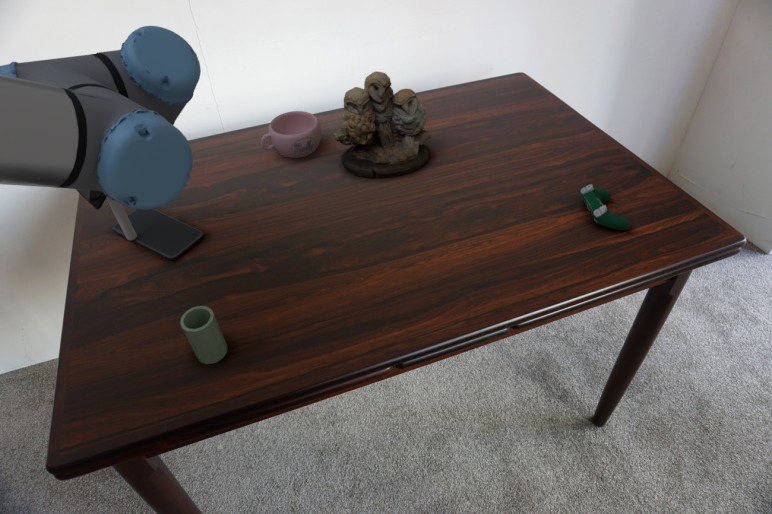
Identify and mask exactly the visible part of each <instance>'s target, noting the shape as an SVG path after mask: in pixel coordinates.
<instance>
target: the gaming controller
mask: <svg viewBox="0 0 772 514" xmlns="http://www.w3.org/2000/svg"><path fill="white" fill-rule="evenodd" d="M579 194H580V197H581V199H582V200H583V202H584V203H585V205H586V206H587V207H586V208H587V210H588V211H589V212H590V214H591V215H592V217H593V220H594V221H595V223H596V224H598V225H599V226H602V227H604V228H608V229H611V230H616V231H629V230H630V226H631V223H630V221H629V220H628V219H626V218H625V217H623V216H621V215H618V214H616V213H615V212H612V211H610V210H609V208H608V207H607V205H606V204H604V203H606V202H608V201H609V200H610V199H611V196H612V195H611V193H610V191H608V190H607V189H606V188H599V187H594V185H593V184H592V183H590V184H588V185H585V186H584V187H582V188H581V189H580V190H579Z"/></svg>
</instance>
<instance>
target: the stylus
mask: <svg viewBox="0 0 772 514" xmlns="http://www.w3.org/2000/svg"><path fill="white" fill-rule="evenodd" d="M105 201H107V203H108V205H109V208H110V209H111V211H112V214H113V215H114V217H115V219H116V221H117V222H118V223H119V225H120V226H121V228H122V230H123V232H124V234H125V236H126V238H125V239H126V240H128V241H131V240H134V239H135V238H136V237H137V234H136V232H135V230H134V228H133V226H132V224H131V222H130V220H129V218H128V216H127V215H128V214H127V212H126V209H125V208H124V206H123V204H122V203H120V202H117V201H114V200H112V199H110V198H108V197H106V199H105Z"/></svg>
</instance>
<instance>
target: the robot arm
mask: <svg viewBox="0 0 772 514" xmlns="http://www.w3.org/2000/svg"><path fill="white" fill-rule="evenodd" d="M200 77H201V63H200V60H199V57H198V54H197V53H196V52H195V50H194V49H193V47H192V46H191V44H190V43H189V42H188V41H187V40H186V39H184V38H183V37H182V36H181V35H179V33H177V32H174V30H171V29H168V28H165V27H162V26H157V25H145V26H144V25H143V26H141V27H138V28H137V29H135V30H133V31H131V33H130V34H129V35H128V36H127V38H126V39H125V40H124V41H123V42H122V43H121V47H120V49H116V50H108V51H100V52H96V53H90V54H84V55H74V56H66V57H57V58H49V59H41V60H40V59H39V60H32V61H23V62H18V61H11V62H10V63H8V64H2V65H0V185H2V186H3V185H4V186H5V185H7V186H21V187H37V188H39V187H40V188H54V189H55V188H56V189H57V188H58V189H68V190H69V189H70V190H76V191H77V192H78V193H79V194H80V195H81V196H82V197H83V199H85V200H86V201H87V202H88V203H89V204H90V205H91V206H92V208H94V209H95V210H96V211H98V210H100V209H101V208H102V207H103V205H104V203H105V201H106V197H108V198H110V199H112V200H114V201H117V202H120V203H121V204H122V205H124V206H126V207H129V208H131V209H133V210H136V209H141V210H148V209H158V208H161V207H163V206H165V205H167V204H169V203H171V202H172V201H174V200H175V199H176V198H177V197H178V196H179V195H180V194H181V193H182V192H183V191H184V189H185V188H186V186H187V184H188V183H189V180H190V177H191V174H192V169H193V166H194V165H193V163H194V158H193V156H194V155H193V151H192V148H191V145H190V143H189V140H188V139H187V137H186V136H185V134H183V132H182V131H181V130H180V129H179V128H177V127H176V126H175V123H176V121H177V119H178V118H179V116H180V114H181V113H182V112H183V110H184V109H185V107H186V105H187V104H189V102H190V101H191V100H192V99H193V97H194V92H195V90H196V88H197V86H198V83H199V81H200Z"/></svg>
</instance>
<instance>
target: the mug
mask: <svg viewBox="0 0 772 514" xmlns="http://www.w3.org/2000/svg"><path fill="white" fill-rule="evenodd" d="M268 138H269V140H270V142H271V144H270V145H269V146H268V145H266V143H265V141H266V140H267V139H268ZM321 138H322V126H321V123H320V120H319V119H318V117H317V116H316V115H314V114H313V113H311V112H308V111H303V110H293V111H287V112H284V113H281V114H278V115H277V116H275V117H274V118H272V120H271V121H270V123H269V124H268V133H265V134H263V135H262V137H261V139H260V146H261V148H262V149H263V150H264V151H271V150H273V149H275V150H276V151H277V152H278V153H279V154H280V155H281V156H283V157H286V158H290V159H299V158H303V157H307V156H309V155H312V153H314V152H315V151H316V150H317V149H318V147H319V146H320V142H321Z"/></svg>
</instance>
